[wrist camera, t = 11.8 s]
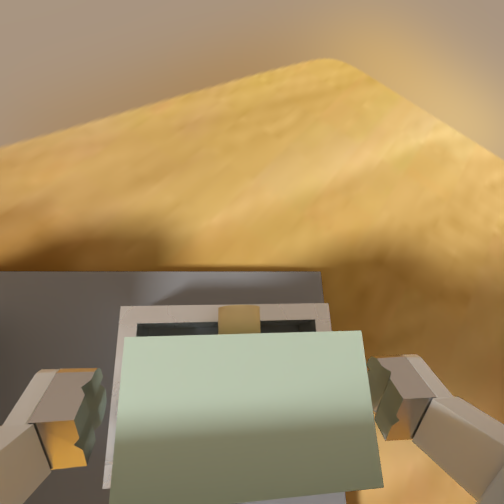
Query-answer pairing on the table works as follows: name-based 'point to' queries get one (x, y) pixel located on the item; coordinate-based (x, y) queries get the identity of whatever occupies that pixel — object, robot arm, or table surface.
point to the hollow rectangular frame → (188, 316)
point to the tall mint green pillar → (243, 416)
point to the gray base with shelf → (105, 341)
